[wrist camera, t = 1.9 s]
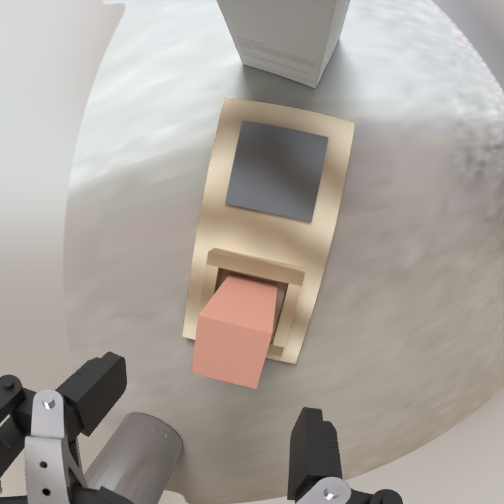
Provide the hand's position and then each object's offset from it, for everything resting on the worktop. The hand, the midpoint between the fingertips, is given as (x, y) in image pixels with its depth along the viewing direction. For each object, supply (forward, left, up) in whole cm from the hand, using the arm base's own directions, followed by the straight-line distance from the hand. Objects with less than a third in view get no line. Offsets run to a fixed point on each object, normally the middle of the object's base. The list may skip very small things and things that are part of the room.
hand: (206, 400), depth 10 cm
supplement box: (+22, +7, -15) cm, 27 cm away
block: (0, 0, -13) cm, 13 cm away
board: (+5, +1, -14) cm, 15 cm away
